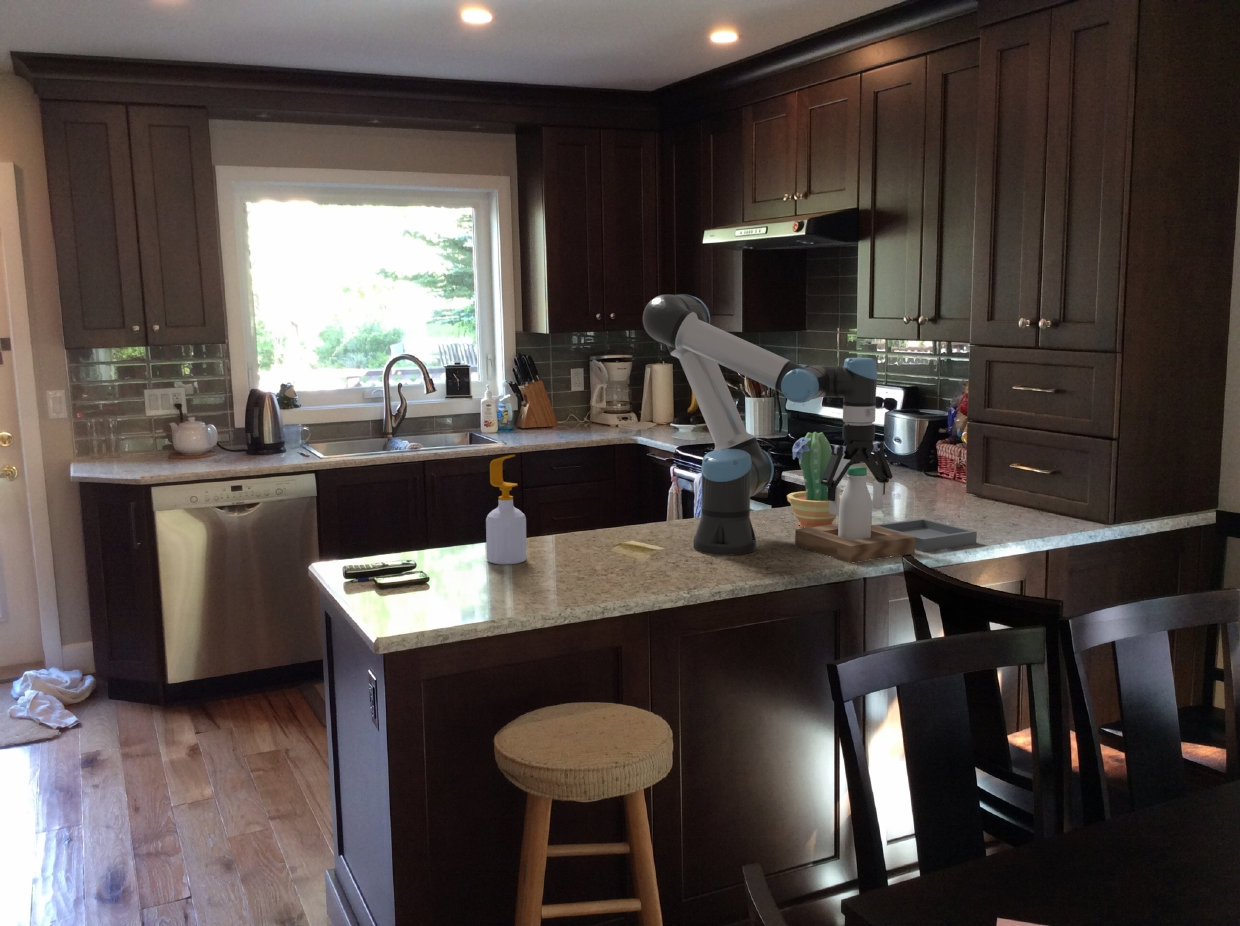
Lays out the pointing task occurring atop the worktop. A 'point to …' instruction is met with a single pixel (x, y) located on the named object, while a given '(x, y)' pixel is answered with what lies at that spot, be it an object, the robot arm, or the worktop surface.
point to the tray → (932, 534)
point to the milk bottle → (855, 506)
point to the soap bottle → (505, 523)
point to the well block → (855, 543)
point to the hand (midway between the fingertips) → (856, 511)
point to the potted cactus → (812, 481)
